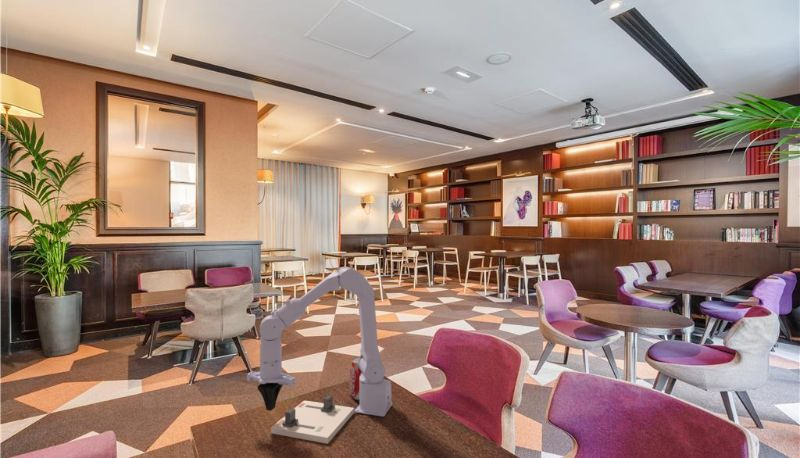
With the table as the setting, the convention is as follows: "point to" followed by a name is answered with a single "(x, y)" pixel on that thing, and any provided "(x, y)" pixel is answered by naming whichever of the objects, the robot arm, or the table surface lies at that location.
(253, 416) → the table surface
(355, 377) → the soda can
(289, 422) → the breaker
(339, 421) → the breaker panel
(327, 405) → the block
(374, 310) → the robot arm
